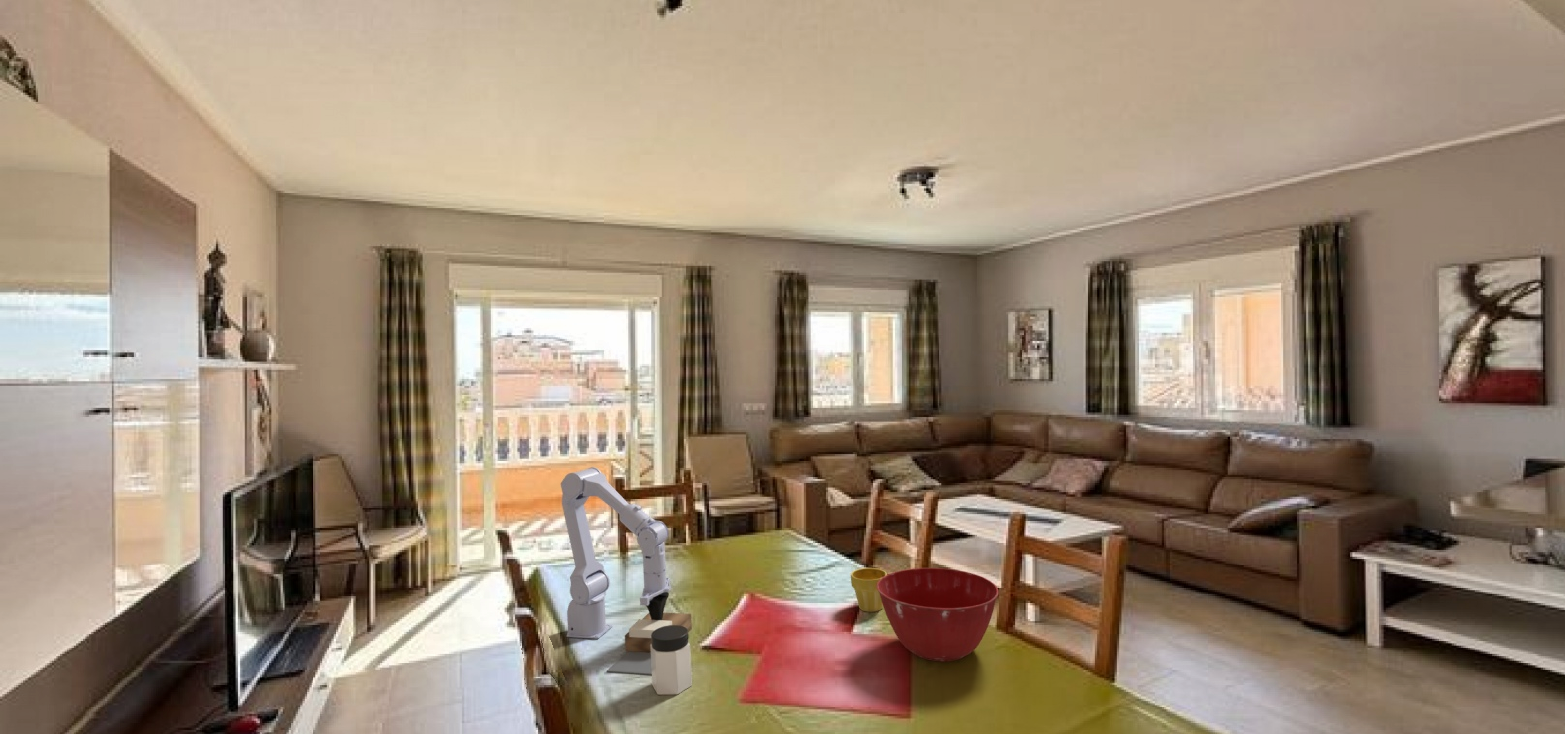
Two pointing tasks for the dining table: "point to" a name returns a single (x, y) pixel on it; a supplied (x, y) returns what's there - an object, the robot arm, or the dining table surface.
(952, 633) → the mixing bowl
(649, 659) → the mat
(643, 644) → the plate
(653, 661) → the jar
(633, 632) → the cream rectangular block
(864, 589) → the plant pot
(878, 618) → the dining table surface
